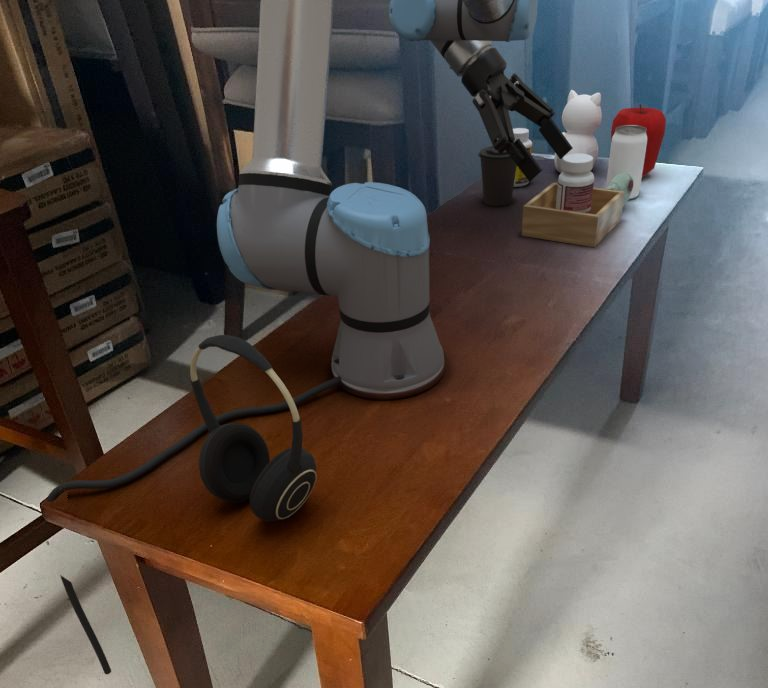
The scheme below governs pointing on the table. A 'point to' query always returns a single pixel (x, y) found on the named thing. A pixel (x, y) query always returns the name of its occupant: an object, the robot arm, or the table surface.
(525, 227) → the holder
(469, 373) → the table surface
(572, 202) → the pill bottle
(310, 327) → the table surface
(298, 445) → the headphones
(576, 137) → the cat figurine
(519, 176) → the supplement bottle
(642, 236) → the table surface
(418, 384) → the robot arm
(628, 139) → the can
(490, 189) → the coffee cup
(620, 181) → the green rounded faceted piece
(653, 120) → the apple
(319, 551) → the table surface
